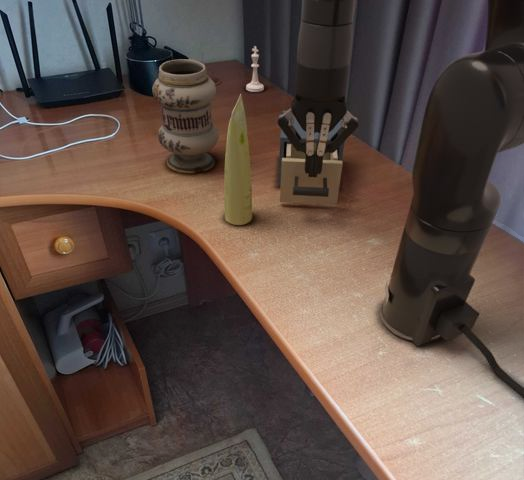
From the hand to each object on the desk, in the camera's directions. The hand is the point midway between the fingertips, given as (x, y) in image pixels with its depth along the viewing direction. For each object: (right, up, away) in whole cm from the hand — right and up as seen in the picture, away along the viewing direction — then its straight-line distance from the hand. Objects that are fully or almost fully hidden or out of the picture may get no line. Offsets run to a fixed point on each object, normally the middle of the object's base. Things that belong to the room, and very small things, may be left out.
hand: (312, 175), depth 79 cm
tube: (-13, -6, +5) cm, 15 cm away
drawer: (0, 0, +9) cm, 9 cm away
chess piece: (-11, +42, +49) cm, 65 cm away
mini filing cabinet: (+1, +7, +17) cm, 18 cm away
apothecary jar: (-23, +9, +19) cm, 32 cm away
